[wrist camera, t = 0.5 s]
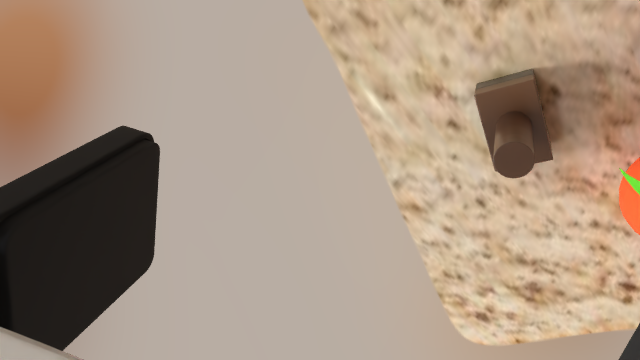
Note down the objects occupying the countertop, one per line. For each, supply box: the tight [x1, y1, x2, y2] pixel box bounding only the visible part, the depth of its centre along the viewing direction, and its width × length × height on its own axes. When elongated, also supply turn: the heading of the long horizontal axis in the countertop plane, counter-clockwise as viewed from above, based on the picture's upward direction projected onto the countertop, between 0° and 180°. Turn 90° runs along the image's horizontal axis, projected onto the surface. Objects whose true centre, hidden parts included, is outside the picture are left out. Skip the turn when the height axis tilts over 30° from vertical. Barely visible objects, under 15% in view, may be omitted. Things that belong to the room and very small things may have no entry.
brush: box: [474, 69, 553, 178], centre depth 38 cm, size 6×4×9 cm, turn 21°
